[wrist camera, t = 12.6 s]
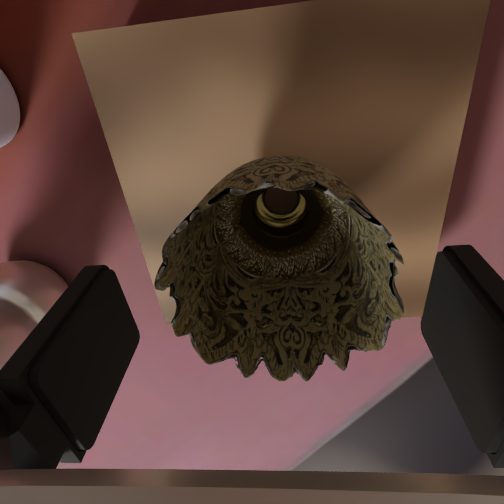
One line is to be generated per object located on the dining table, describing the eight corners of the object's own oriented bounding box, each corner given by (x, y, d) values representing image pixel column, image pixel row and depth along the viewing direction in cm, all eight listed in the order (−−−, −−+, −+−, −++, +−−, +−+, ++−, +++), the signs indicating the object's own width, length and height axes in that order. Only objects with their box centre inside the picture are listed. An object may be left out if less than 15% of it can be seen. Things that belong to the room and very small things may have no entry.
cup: (356, 255, 18) (396, 384, 11) (222, 265, 19) (188, 387, 13) (359, 108, 14) (425, 173, 8) (192, 130, 15) (119, 203, 9)
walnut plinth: (120, 35, 18) (71, 33, 14) (439, -8, 16) (496, -25, 12) (184, 277, 26) (165, 323, 22) (398, 268, 24) (423, 316, 20)
